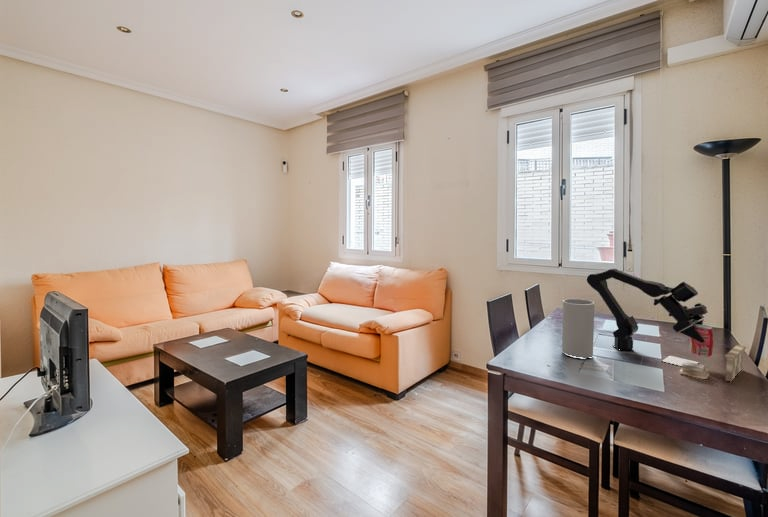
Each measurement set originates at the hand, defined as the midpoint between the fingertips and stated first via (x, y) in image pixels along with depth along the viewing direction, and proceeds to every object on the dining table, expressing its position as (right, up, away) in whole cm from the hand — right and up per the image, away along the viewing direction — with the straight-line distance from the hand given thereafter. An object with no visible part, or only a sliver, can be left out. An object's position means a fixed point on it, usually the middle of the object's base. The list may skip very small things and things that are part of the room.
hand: (706, 340), depth 142 cm
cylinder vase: (-42, -11, +19) cm, 47 cm away
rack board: (+5, -12, -6) cm, 15 cm away
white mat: (-4, -11, +8) cm, 14 cm away
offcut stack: (-9, -13, -5) cm, 17 cm away
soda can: (-1, -7, +2) cm, 7 cm away
